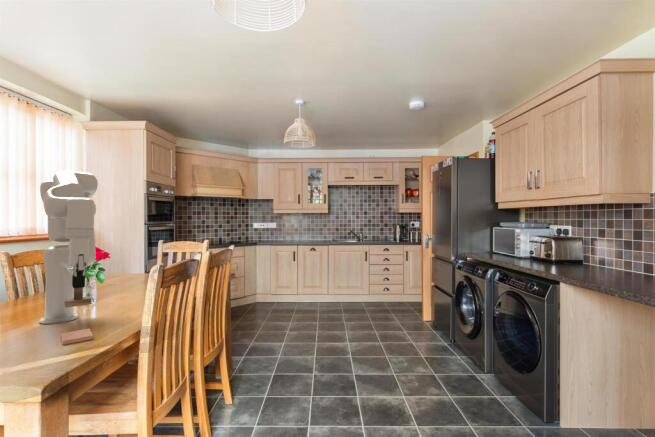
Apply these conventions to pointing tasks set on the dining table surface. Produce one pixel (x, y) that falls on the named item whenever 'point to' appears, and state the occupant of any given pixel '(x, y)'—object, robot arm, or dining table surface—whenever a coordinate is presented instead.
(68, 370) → the dining table surface
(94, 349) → the dining table surface
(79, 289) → the tool
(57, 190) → the robot arm
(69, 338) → the tile
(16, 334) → the dining table surface
